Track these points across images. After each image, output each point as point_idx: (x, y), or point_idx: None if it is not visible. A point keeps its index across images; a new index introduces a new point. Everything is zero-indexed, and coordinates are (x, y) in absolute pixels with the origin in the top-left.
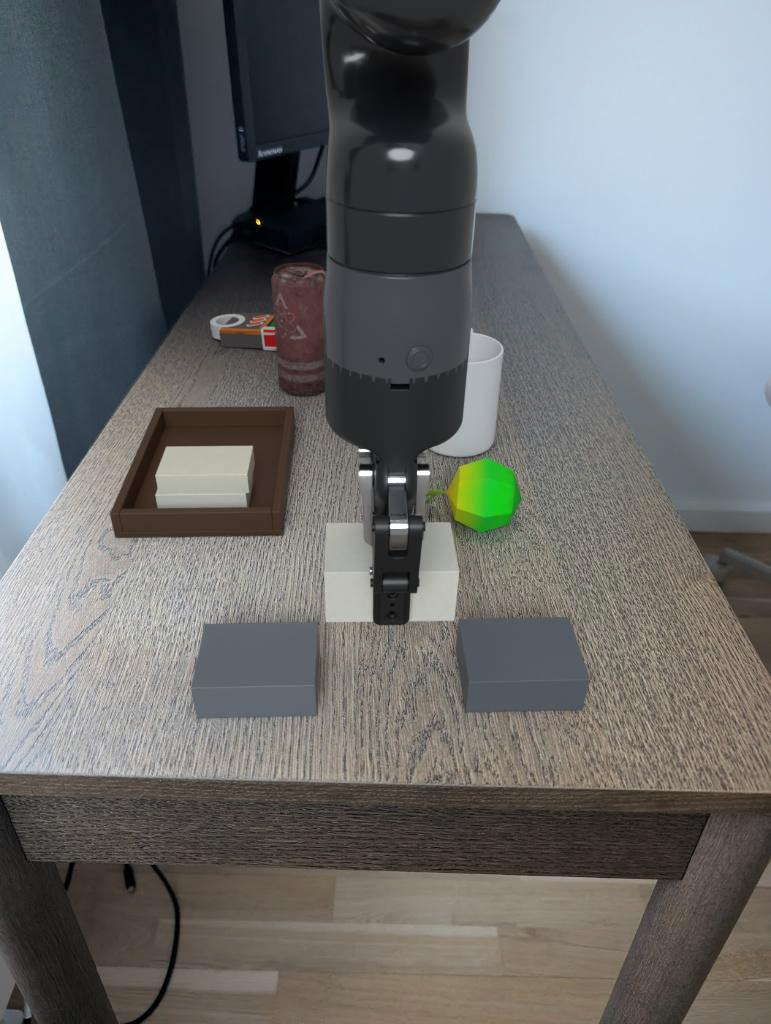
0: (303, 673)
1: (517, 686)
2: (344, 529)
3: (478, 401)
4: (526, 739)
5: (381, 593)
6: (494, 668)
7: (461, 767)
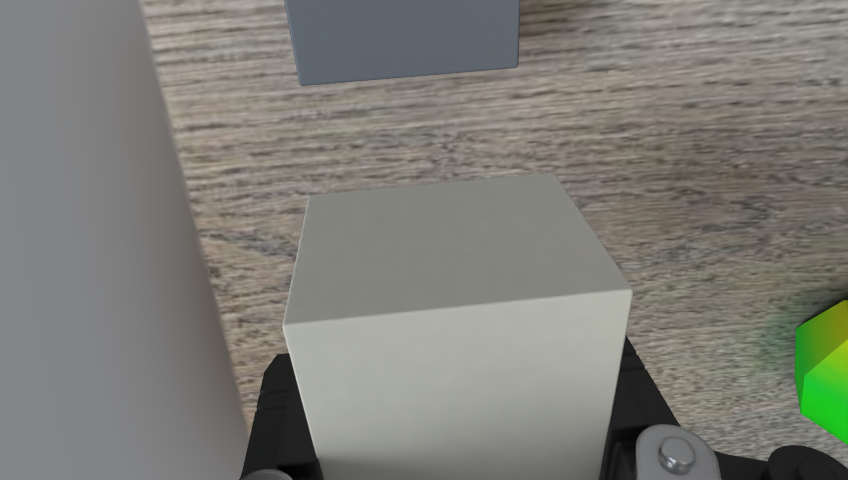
0: (332, 53)
1: None
2: (577, 355)
3: None
4: None
5: (247, 458)
6: None
7: (242, 302)
